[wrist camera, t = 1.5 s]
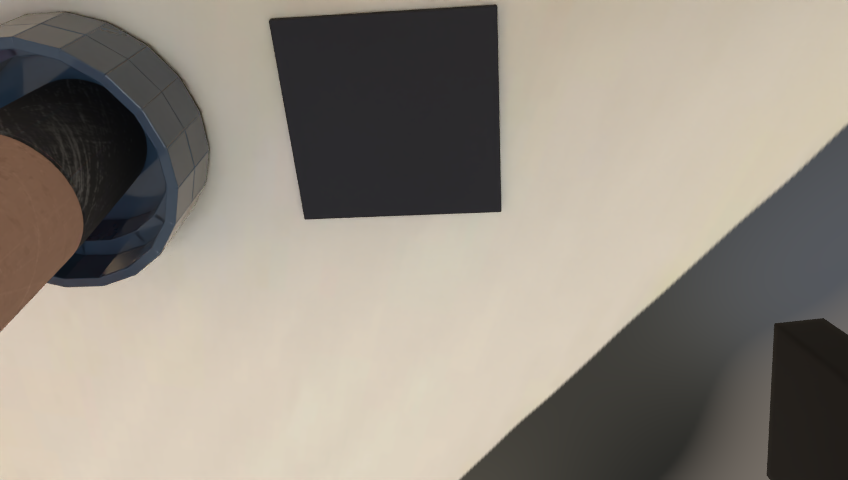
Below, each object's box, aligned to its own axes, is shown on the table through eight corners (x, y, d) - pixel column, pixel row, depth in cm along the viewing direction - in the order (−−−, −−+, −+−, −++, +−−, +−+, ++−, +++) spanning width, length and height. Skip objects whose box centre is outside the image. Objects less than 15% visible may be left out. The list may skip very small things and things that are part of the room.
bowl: (-75, 19, 38) (-151, 46, 34) (176, 3, 37) (134, 29, 33) (19, 242, 46) (-33, 290, 41) (232, 234, 44) (204, 283, 40)
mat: (270, 18, 37) (268, 20, 37) (496, 4, 36) (497, 6, 36) (305, 216, 43) (304, 219, 43) (500, 208, 42) (501, 212, 42)
